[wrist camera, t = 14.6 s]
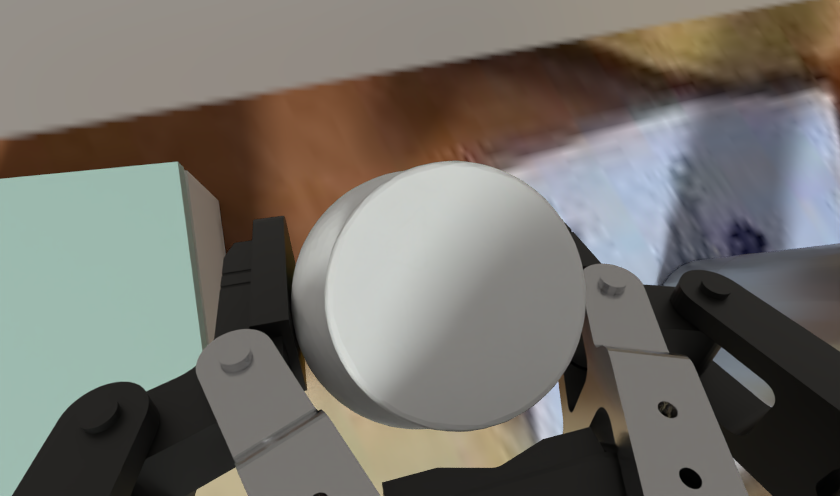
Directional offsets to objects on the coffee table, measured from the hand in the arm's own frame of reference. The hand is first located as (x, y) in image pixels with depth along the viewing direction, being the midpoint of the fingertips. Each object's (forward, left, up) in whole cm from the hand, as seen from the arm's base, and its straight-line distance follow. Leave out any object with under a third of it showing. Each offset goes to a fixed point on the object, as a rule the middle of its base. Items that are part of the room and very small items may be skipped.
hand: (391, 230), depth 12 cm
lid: (+13, +1, -9) cm, 16 cm away
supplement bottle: (0, +2, -4) cm, 5 cm away
